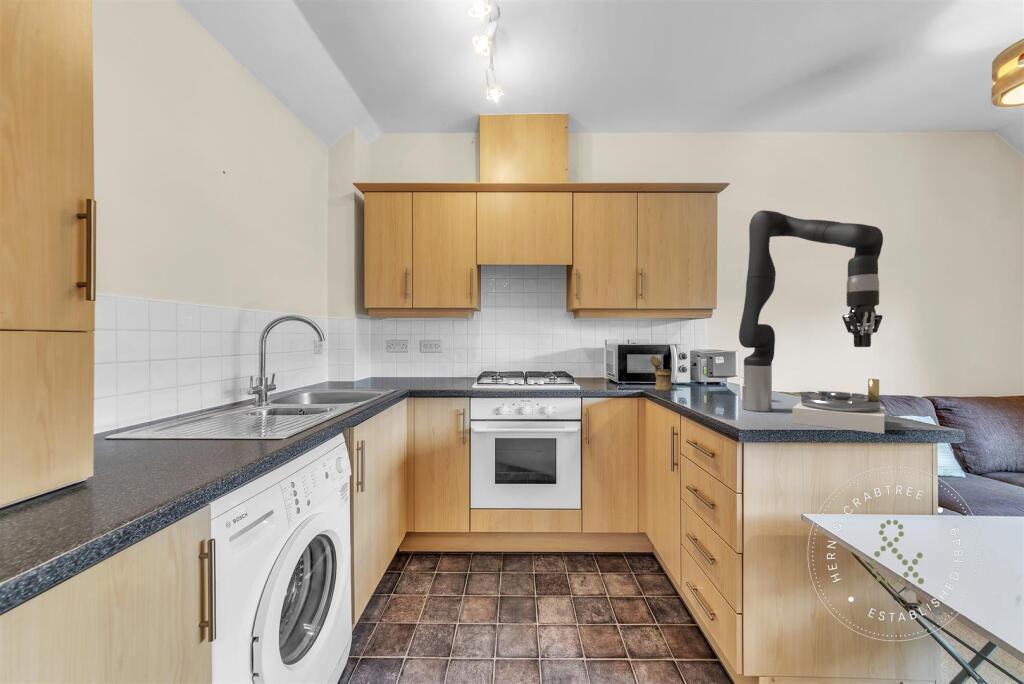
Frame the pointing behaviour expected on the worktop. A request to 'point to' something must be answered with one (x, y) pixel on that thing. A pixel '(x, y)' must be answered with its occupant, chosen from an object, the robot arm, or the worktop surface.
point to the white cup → (741, 385)
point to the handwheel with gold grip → (845, 399)
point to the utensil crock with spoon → (661, 376)
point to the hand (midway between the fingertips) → (862, 346)
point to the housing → (840, 418)
